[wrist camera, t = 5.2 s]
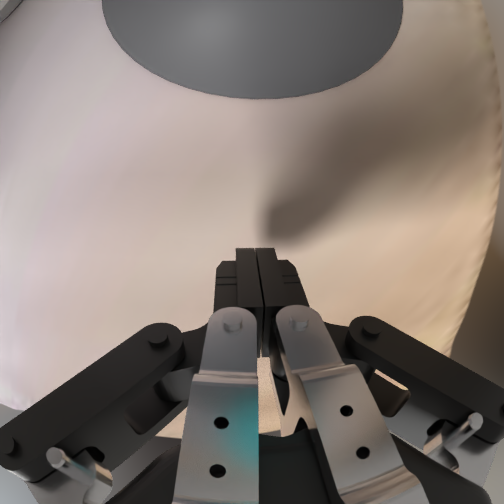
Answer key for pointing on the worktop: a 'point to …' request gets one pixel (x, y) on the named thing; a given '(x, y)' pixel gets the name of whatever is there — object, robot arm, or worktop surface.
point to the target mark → (255, 42)
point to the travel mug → (7, 8)
